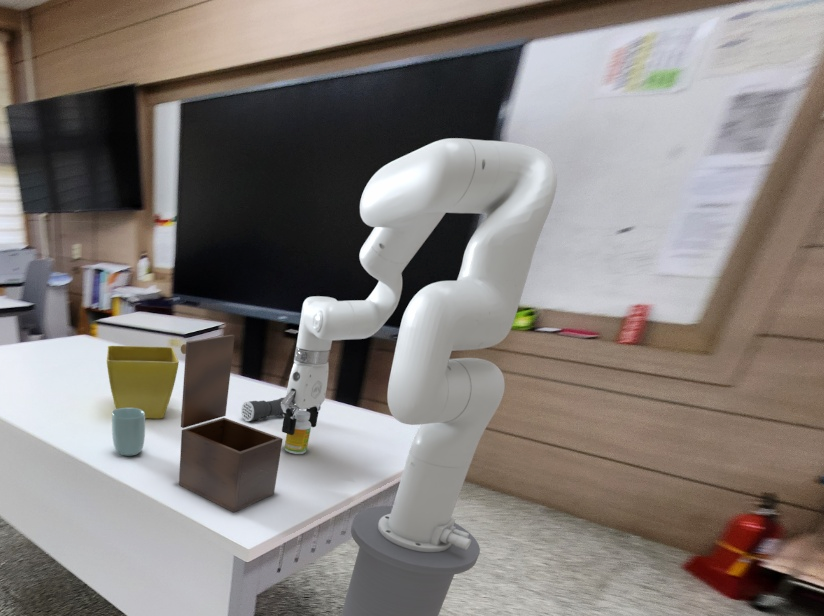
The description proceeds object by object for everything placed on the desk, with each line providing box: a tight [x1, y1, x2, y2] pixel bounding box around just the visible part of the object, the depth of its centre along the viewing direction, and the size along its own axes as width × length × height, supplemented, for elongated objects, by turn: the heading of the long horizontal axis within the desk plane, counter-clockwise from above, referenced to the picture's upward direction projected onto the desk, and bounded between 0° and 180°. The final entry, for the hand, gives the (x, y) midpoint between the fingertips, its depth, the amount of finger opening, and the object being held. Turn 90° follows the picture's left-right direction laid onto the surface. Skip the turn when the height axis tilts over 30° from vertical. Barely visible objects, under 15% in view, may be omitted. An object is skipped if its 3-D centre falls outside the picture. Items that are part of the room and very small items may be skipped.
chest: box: [178, 417, 284, 513], centre depth 106 cm, size 16×13×12 cm
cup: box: [111, 408, 146, 457], centre depth 122 cm, size 8×8×10 cm
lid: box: [180, 334, 235, 429], centre depth 105 cm, size 17×13×6 cm
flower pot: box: [106, 345, 180, 420], centre depth 147 cm, size 19×19×17 cm
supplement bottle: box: [284, 409, 312, 455], centre depth 126 cm, size 5×5×10 cm
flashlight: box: [241, 396, 294, 422], centre depth 148 cm, size 15×5×5 cm, turn 117°
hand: (298, 429), depth 126 cm, fingers open, 8 cm apart
